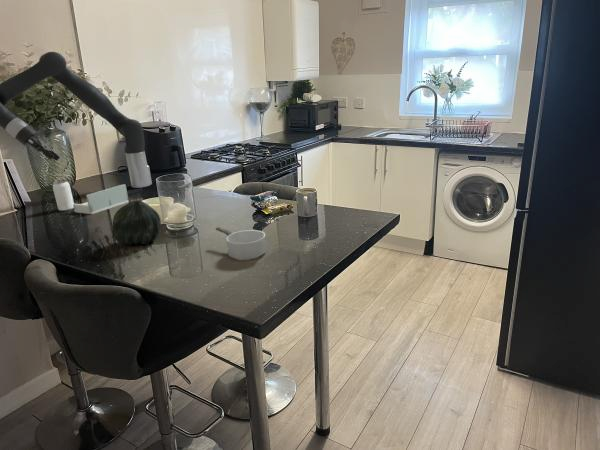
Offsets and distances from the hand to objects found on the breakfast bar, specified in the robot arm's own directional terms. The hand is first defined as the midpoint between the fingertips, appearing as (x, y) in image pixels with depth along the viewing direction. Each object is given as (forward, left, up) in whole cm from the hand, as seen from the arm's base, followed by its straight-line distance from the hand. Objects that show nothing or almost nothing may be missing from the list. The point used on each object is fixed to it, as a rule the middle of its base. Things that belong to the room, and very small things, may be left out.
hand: (55, 158), depth 191 cm
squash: (+21, +67, -22) cm, 74 cm away
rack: (-6, +15, -22) cm, 27 cm away
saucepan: (+17, +104, -22) cm, 108 cm away
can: (+1, 0, -22) cm, 22 cm away
